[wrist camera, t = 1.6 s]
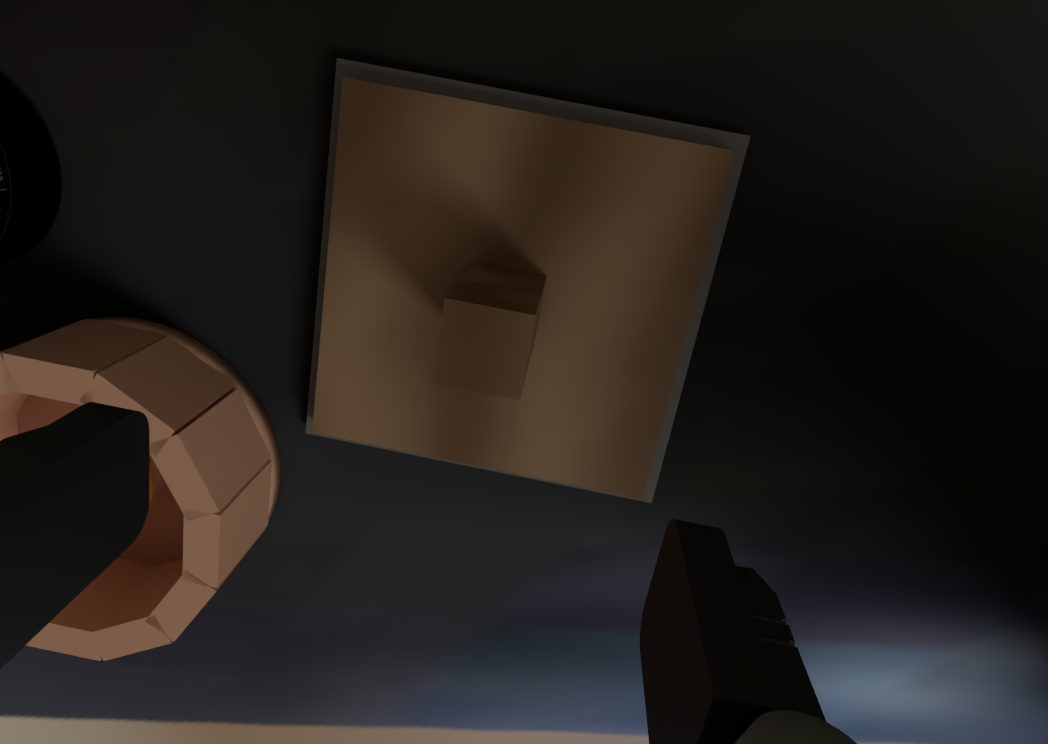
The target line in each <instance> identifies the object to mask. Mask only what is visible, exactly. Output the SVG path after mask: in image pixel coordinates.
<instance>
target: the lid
mask: <svg viewBox="0 0 1048 744" xmlns="http://www.w3.org/2000/svg"><path fill="white" fill-rule="evenodd" d="M734 152H735V151H733V150H729V149H724V148H719V147H713V146H708V145H703V144H697V143H692V142H687V141H682V140H676V139H671V138H666V137H660V136H655V135H650V134H645V133H639V132H634V131H629V130H623V129H618V128H613V127H608V126H602V125H597V124H592V123H586V122H581V121H576V120H571V119H565V118H560V117H555V116H549V115H544V114H539V113H534V112H528V111H523V110H518V109H512V108H507V107H502V106H497V105H491V104H486V103H481V102H475V101H470V100H465V99H460V98H454V97H449V96H444V95H438V94H433V93H428V92H423V91H417V90H412V89H407V88H402V87H396V86H391V85H386V84H380V83H375V82H370V81H365V80H359V79H354V78H348V77H343V79H342V91H341V103H340V114H339V126H338V137H337V149H336V161H335V172H334V184H333V195H332V207H331V219H330V230H329V242H328V253H327V265H326V277H325V288H324V300H323V311H322V323H321V335H320V346H319V358H318V369H317V381H316V393H315V404H314V416H313V427H312V433H317V434H322V435H327V436H331V437H336V438H341V439H346V440H351V441H356V442H361V443H366V444H371V445H376V446H381V447H386V448H391V449H396V450H401V451H406V452H411V453H416V454H421V455H426V456H431V457H436V458H441V459H446V460H450V461H455V462H460V463H465V464H470V465H475V466H480V467H485V468H490V469H495V470H500V471H505V472H510V473H515V474H520V475H525V476H530V477H535V478H540V479H545V480H550V481H555V482H560V483H565V484H569V485H574V486H579V487H584V488H589V489H594V490H599V491H604V492H609V493H614V494H619V495H624V496H629V497H634V498H639V499H643V496H644V492H645V488H646V484H647V480H648V477H649V473H650V469H651V465H652V462H653V458H654V454H655V450H656V446H657V443H658V439H659V435H660V431H661V428H662V424H663V420H664V416H665V412H666V409H667V405H668V401H669V397H670V394H671V390H672V386H673V382H674V378H675V375H676V371H677V367H678V363H679V360H680V356H681V352H682V348H683V344H684V341H685V337H686V333H687V329H688V326H689V322H690V318H691V314H692V310H693V307H694V303H695V299H696V295H697V292H698V288H699V284H700V280H701V276H702V273H703V269H704V265H705V261H706V258H707V254H708V250H709V246H710V242H711V239H712V235H713V231H714V227H715V224H716V220H717V216H718V212H719V208H720V205H721V201H722V197H723V193H724V190H725V186H726V182H727V178H728V174H729V171H730V167H731V163H732V159H733V156H734Z"/></svg>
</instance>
